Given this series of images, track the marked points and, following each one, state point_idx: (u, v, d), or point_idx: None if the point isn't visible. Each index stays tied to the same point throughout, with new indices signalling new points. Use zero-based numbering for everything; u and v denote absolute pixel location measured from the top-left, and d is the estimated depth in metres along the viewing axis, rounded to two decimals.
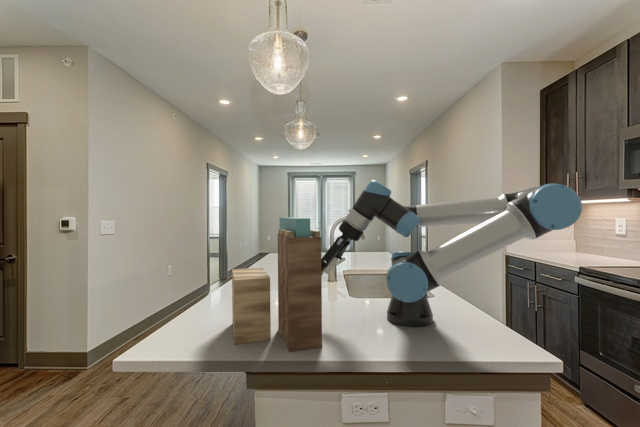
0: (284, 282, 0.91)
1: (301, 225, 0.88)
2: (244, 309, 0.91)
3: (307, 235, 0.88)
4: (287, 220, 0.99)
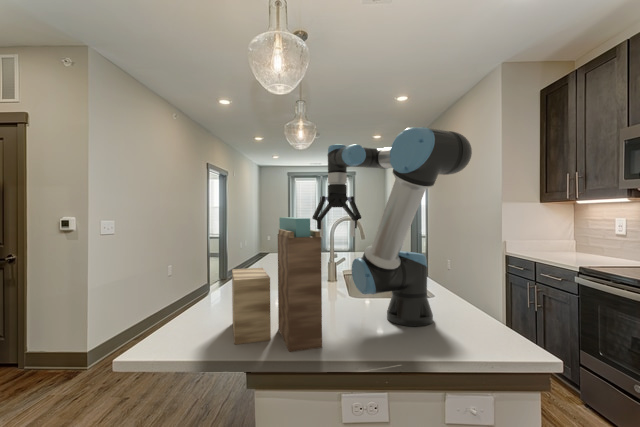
0: (284, 282, 0.91)
1: (301, 225, 0.88)
2: (244, 309, 0.91)
3: (307, 235, 0.88)
4: (287, 220, 0.99)
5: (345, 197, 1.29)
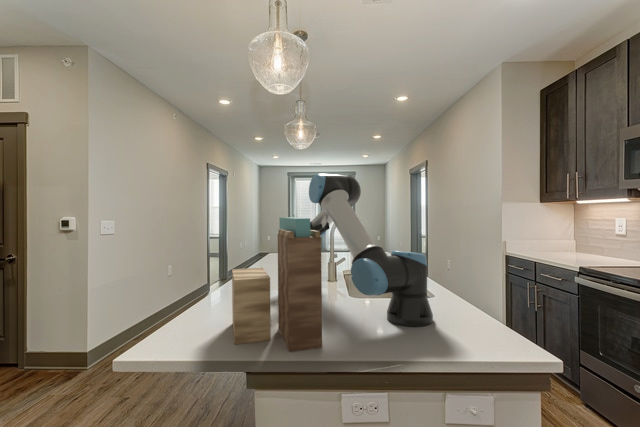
0: (284, 282, 0.91)
1: (301, 225, 0.88)
2: (244, 309, 0.91)
3: (307, 235, 0.88)
4: (287, 220, 0.99)
5: None
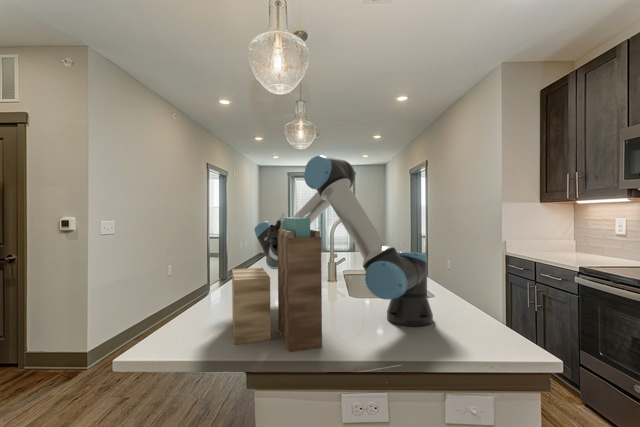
0: (284, 282, 0.91)
1: (301, 225, 0.88)
2: (244, 309, 0.91)
3: (307, 235, 0.88)
4: (287, 220, 0.99)
5: None
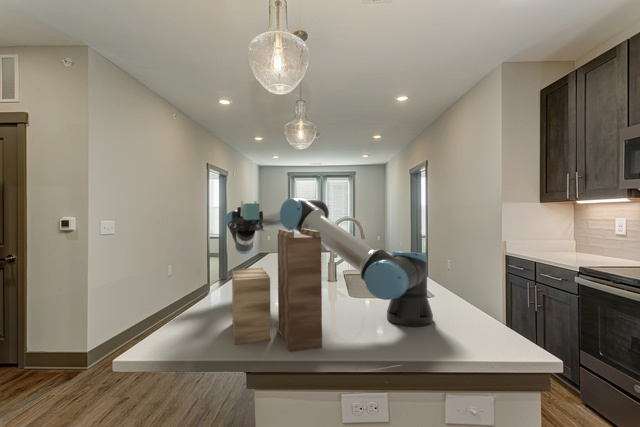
0: (284, 282, 0.91)
1: (251, 209, 1.00)
2: (244, 309, 0.91)
3: (256, 218, 1.01)
4: None
5: None
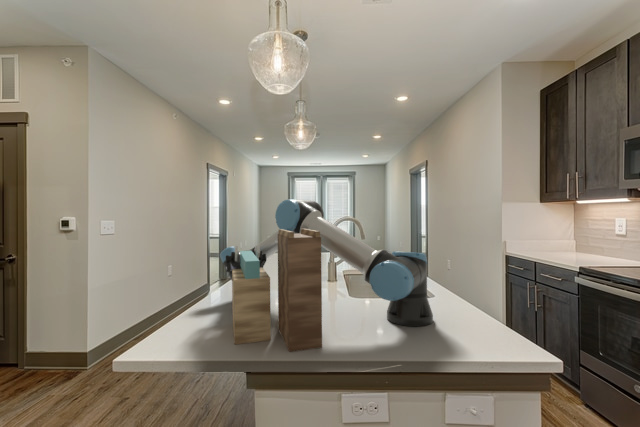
0: (284, 282, 0.91)
1: (250, 267, 0.92)
2: (244, 309, 0.91)
3: (256, 277, 0.92)
4: (242, 258, 1.02)
5: None
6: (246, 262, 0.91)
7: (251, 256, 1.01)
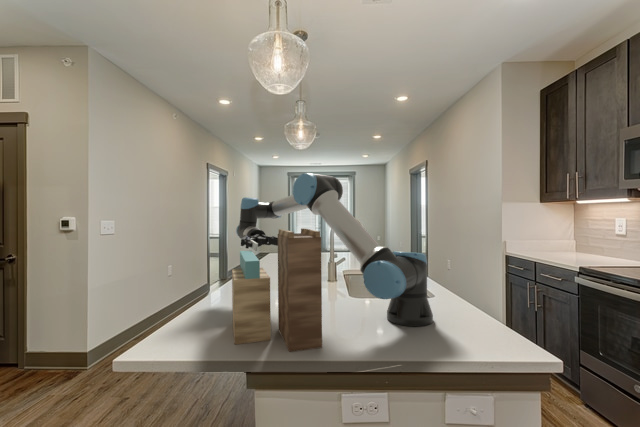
0: (284, 282, 0.91)
1: (250, 267, 0.92)
2: (244, 309, 0.91)
3: (256, 277, 0.92)
4: (242, 258, 1.02)
5: None
6: (246, 262, 0.91)
7: (251, 256, 1.01)
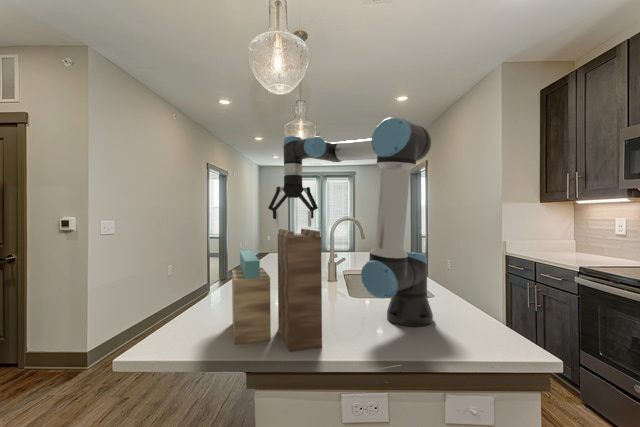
0: (284, 282, 0.91)
1: (250, 267, 0.92)
2: (244, 309, 0.91)
3: (256, 277, 0.92)
4: (242, 258, 1.02)
5: (301, 188, 1.32)
6: (246, 262, 0.91)
7: (251, 256, 1.01)
